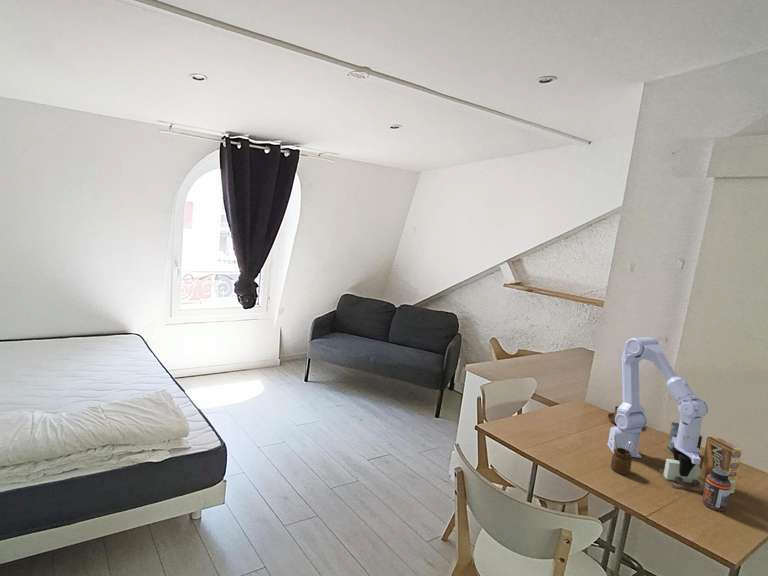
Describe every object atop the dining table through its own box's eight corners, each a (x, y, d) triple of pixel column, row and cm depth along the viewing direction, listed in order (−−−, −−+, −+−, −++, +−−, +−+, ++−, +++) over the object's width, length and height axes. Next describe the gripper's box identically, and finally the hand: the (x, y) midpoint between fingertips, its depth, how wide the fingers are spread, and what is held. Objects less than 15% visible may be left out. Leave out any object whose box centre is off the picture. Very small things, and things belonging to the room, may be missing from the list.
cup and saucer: (621, 415, 196) (623, 403, 195) (645, 428, 185) (647, 414, 184) (600, 418, 192) (602, 404, 191) (623, 430, 181) (625, 416, 180)
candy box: (734, 493, 140) (743, 449, 137) (724, 494, 139) (732, 450, 136) (708, 477, 148) (716, 435, 146) (698, 478, 147) (706, 436, 145)
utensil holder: (631, 476, 146) (637, 443, 144) (611, 472, 147) (616, 439, 146) (627, 467, 151) (632, 435, 149) (607, 463, 153) (612, 431, 151)
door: (666, 479, 144) (669, 462, 143) (663, 475, 146) (666, 458, 145) (696, 483, 142) (699, 466, 141) (693, 479, 144) (696, 462, 144)
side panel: (672, 487, 141) (673, 479, 141) (658, 470, 151) (660, 463, 150) (713, 493, 139) (714, 486, 138) (697, 476, 149) (698, 469, 148)
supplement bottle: (696, 499, 135) (703, 465, 133) (714, 499, 136) (721, 466, 134) (712, 512, 129) (719, 477, 127) (731, 512, 130) (738, 477, 128)
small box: (698, 464, 157) (703, 436, 156) (679, 460, 158) (683, 434, 157) (685, 449, 167) (689, 424, 166) (666, 446, 169) (670, 421, 167)
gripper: (714, 447, 134) (706, 487, 136) (690, 426, 148) (684, 463, 150) (689, 443, 135) (681, 484, 137) (668, 423, 149) (661, 460, 151)
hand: (681, 473), depth 144 cm, fingers closed on door, 2 cm apart
